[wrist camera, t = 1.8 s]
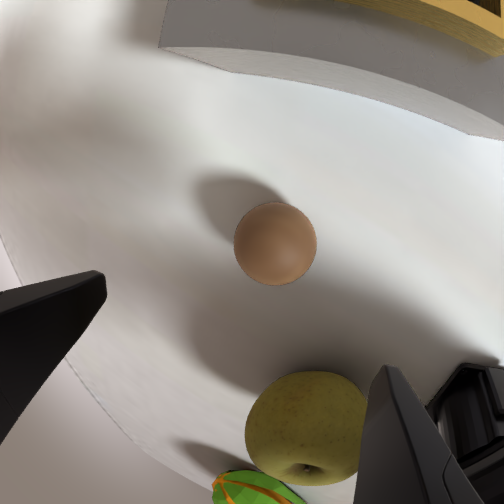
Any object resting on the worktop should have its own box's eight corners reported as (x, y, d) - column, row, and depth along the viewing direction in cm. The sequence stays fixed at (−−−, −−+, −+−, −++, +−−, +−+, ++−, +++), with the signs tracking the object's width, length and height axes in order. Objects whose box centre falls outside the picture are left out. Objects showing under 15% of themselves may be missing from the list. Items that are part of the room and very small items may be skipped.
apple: (368, 417, 20) (362, 497, 14) (269, 413, 22) (243, 486, 16) (380, 347, 17) (383, 444, 11) (256, 344, 20) (218, 431, 13)
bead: (309, 271, 16) (299, 311, 13) (242, 252, 17) (216, 286, 14) (327, 205, 15) (322, 231, 11) (253, 186, 15) (227, 206, 12)
